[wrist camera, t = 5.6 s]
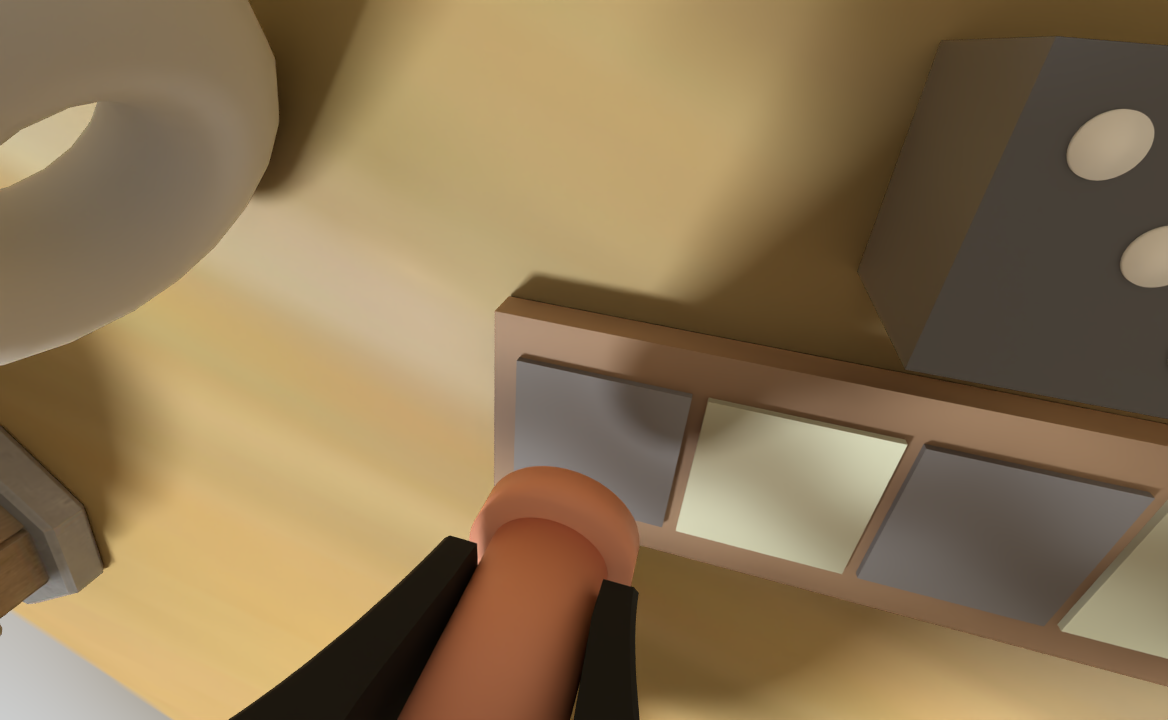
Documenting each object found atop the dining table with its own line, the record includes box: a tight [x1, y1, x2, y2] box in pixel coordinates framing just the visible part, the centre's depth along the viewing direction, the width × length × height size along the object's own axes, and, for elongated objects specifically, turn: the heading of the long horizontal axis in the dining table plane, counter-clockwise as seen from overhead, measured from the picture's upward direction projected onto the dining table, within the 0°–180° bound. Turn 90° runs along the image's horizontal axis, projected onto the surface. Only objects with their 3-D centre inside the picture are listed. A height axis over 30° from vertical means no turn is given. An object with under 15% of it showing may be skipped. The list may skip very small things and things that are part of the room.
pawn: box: [397, 466, 640, 720], centre depth 9 cm, size 4×4×7 cm
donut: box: [0, 0, 279, 365], centre depth 10 cm, size 10×4×10 cm, turn 141°
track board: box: [494, 296, 1168, 687], centre depth 14 cm, size 7×21×1 cm, turn 85°
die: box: [857, 36, 1168, 419], centre depth 9 cm, size 4×5×5 cm
